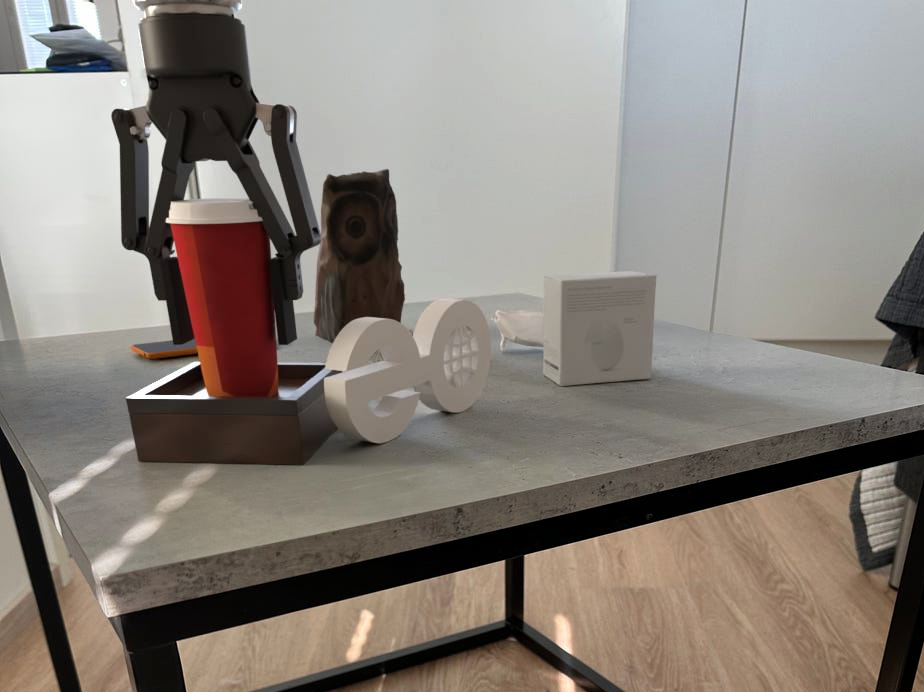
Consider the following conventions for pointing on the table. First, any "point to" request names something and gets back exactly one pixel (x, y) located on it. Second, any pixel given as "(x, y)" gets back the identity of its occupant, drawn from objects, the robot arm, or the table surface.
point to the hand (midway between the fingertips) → (235, 341)
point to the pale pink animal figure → (520, 327)
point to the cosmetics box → (598, 327)
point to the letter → (407, 368)
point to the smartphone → (165, 349)
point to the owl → (357, 253)
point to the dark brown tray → (232, 419)
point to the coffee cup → (228, 293)
